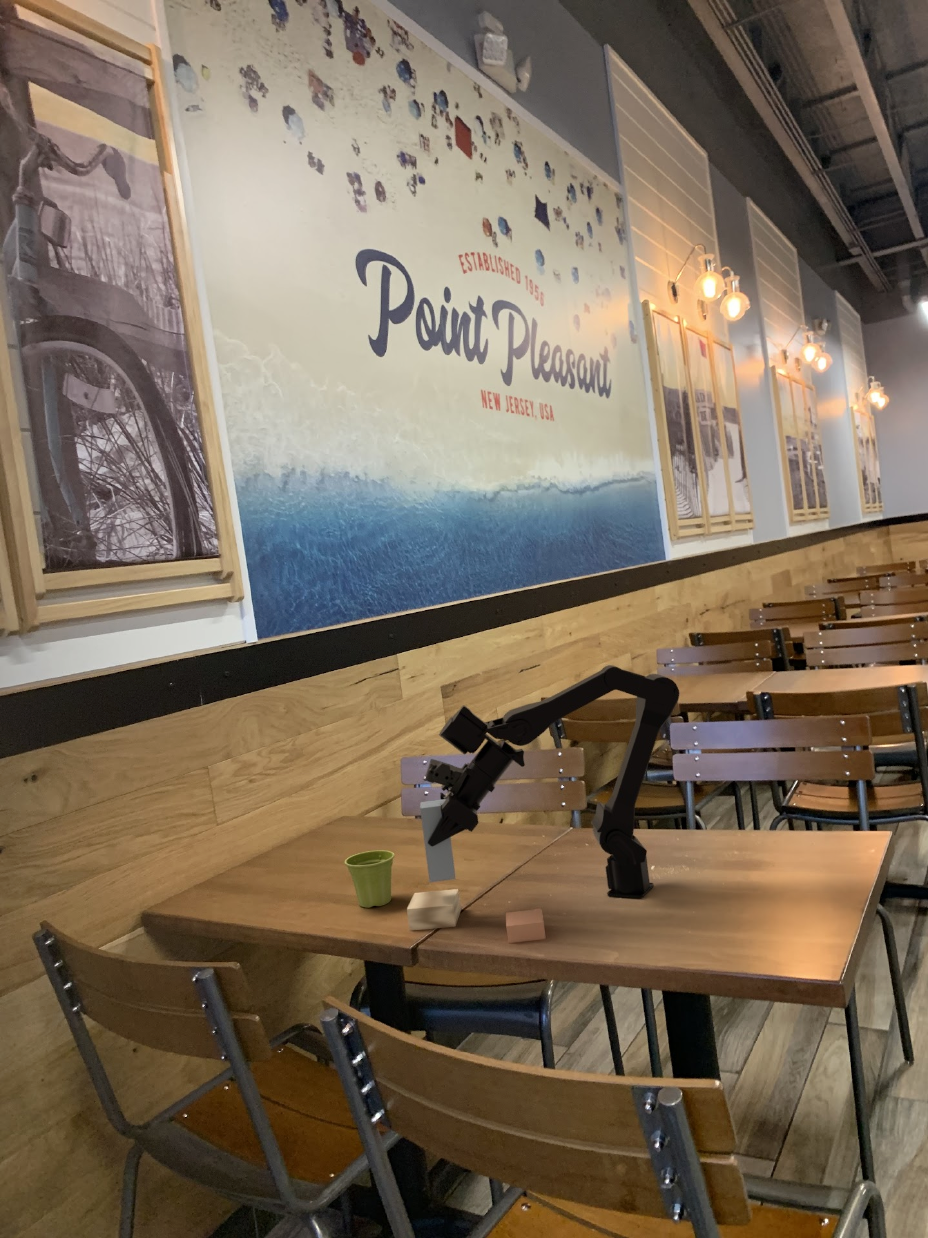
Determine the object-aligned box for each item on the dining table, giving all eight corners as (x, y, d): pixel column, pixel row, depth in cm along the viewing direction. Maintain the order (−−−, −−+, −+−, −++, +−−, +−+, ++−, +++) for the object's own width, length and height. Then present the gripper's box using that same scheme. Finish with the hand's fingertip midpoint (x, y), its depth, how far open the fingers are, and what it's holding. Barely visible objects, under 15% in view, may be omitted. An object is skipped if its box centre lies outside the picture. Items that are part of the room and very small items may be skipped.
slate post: (454, 871, 164) (445, 799, 164) (455, 879, 160) (446, 805, 159) (429, 874, 164) (420, 802, 164) (429, 882, 160) (420, 808, 159)
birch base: (461, 911, 166) (458, 889, 165) (455, 928, 158) (452, 905, 158) (417, 914, 167) (414, 893, 166) (409, 932, 159) (406, 909, 158)
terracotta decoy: (543, 926, 153) (541, 908, 153) (545, 940, 147) (543, 922, 147) (507, 930, 154) (505, 912, 153) (508, 944, 148) (506, 926, 147)
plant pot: (375, 891, 182) (369, 848, 182) (410, 896, 176) (404, 852, 176) (340, 908, 175) (334, 863, 174) (375, 914, 169) (369, 868, 168)
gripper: (447, 733, 170) (395, 800, 170) (449, 752, 152) (390, 827, 152) (495, 770, 171) (443, 837, 171) (502, 793, 152) (444, 868, 152)
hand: (429, 841), depth 162 cm, fingers closed on slate post, 4 cm apart
